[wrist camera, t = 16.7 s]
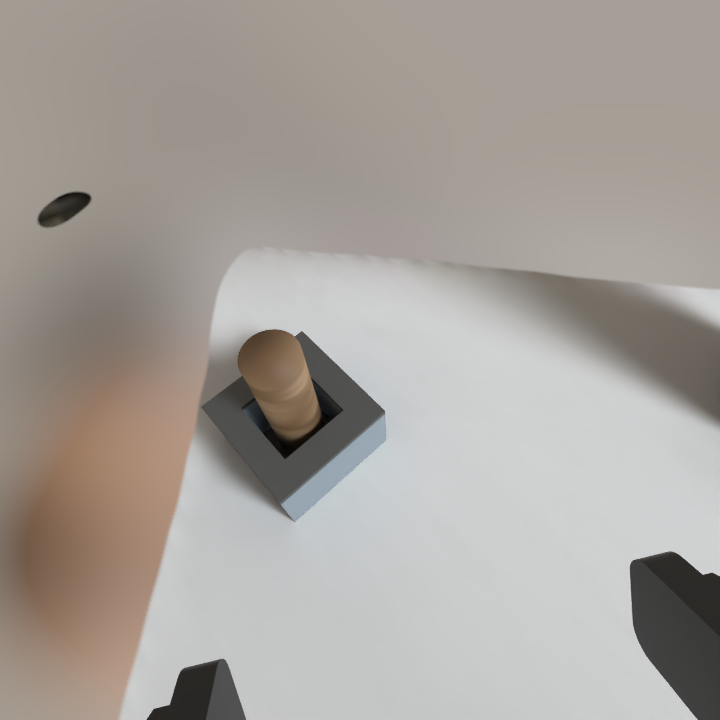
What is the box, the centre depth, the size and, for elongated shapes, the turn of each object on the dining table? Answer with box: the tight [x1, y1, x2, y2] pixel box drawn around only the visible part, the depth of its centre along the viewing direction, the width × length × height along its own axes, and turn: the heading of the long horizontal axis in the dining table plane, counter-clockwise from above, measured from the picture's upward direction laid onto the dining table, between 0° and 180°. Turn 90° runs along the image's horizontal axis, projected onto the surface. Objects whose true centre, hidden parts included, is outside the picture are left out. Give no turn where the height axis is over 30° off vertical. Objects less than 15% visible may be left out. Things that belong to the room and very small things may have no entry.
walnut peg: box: [238, 329, 325, 456], centre depth 36 cm, size 4×4×14 cm
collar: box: [202, 332, 386, 522], centre depth 39 cm, size 10×10×6 cm
